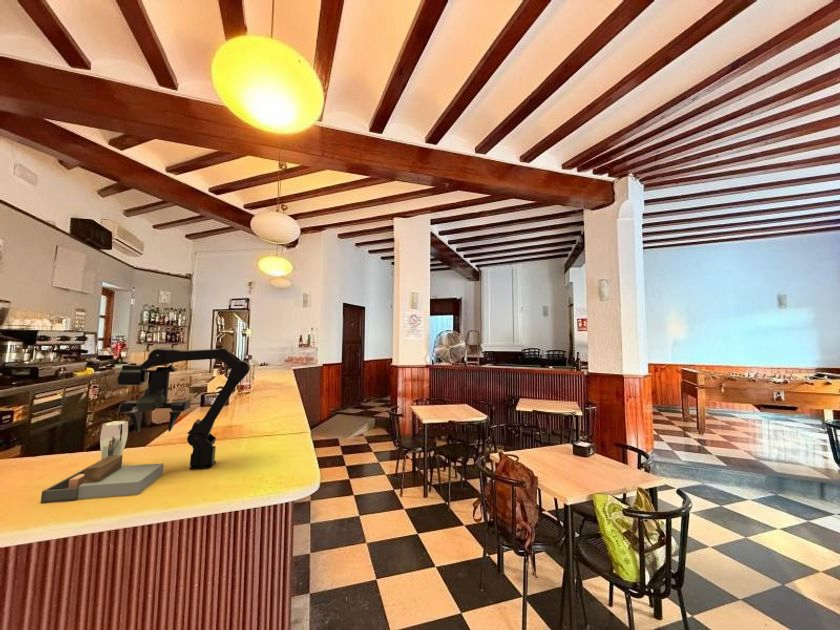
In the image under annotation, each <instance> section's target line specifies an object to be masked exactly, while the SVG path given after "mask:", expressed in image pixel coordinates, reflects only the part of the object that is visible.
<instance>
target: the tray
mask: <svg viewBox="0 0 840 630" xmlns="http://www.w3.org/2000/svg"><path fill="white" fill-rule="evenodd" d="M84 471H85V468H83V469H81V470H80V471H78V472H75V473H74V474H72V475H71V476H69V477H67V478H65V479H62V480H61V481H59V482H57V483H55V484H53V485H52V486H51V485H50V487H48V488H46V489H44V490H42V491H41V495H40V504H46V503H59V502H70V501H71V502H72V501H77V500H78V499H77V498H78V489H79V488H72V489H68V487H69V480H70V479H72V478H73V477H75V476H77V475H79V474H84Z"/></svg>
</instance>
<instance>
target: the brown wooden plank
mask: <svg viewBox="0 0 840 630" xmlns="http://www.w3.org/2000/svg"><path fill="white" fill-rule="evenodd" d="M123 457H124V455H123V454H122V455H111V456H108V457H106V458H104V459H102V458H101V459H102V460H101V459H100V460H98V461H96V462H95V463H93V464H91V465H89V466H87V467H86V468H84V469H85V472H84V481H83V483H94V482H99V481H101V480H103V479H104V478H106V477H108V476H109V475H111V474H112V473H114V472H116V471H117V470H119V469H120V468H121V467H122V462H123Z"/></svg>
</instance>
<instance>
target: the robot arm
mask: <svg viewBox="0 0 840 630" xmlns="http://www.w3.org/2000/svg"><path fill="white" fill-rule="evenodd" d="M205 360H221V362H223V363H224V364H225V365H226V366H227V367H228V368H229V369H230V371H229V374H228V375H227V376H228V377H227V380H226V382H225V384H224V386H223V387H222V389H221V390H220V392H219V394H218V395H217V397H216V398H215V400H214V401H213V403H212V404H211V406H210V408H209V409H208V410H207V413H205V415H204V417H203V418H202V419H199V418H197V419H196V420H195V421H194V422H193V425H192V427H191V429H190V430H189V431H187V433H186V434H187V438H186V441H187V443H188V445H189V446H191V447H192V453H190V459H189V461H190V462H189V470H201V469H202V470H203V469H211V468H212V467H213V466H214V465H215V464H216V462H217V460H215V458H216V445H214V444H215V443H216V440H217V438H216V437H215V435H213V434H212V433H211V432H212V430H213V428H214V425H215V423H216V419H217V418H218V416H219V415H220V413H221V411H222V410H223V409H224V407H225V405H226V404H227V402H228V400H229V399H230V397H231V395H232V394H233V392H234V391H235V389H236V388H237V386H238V384H240V383H241V381H242V380H244V379H245V377H246V376H247V375H248V374H249V373H250V371H251V365H250V362H248V361H246V360H242V359H240V358H239V357H238V356H236V355H235V354H234V353H232V352H231V351H230V350H229V349H228V348H226V347H221V348H209V349H190V350H189V349H188V350H184V349H176V348H175V349H174V348H165V347H164V348H155V349H153V350H151V351H150V353H149V354H148V355H147V359H146V360H145V361H144V362H143V363H142V364H141V365H130V364H125V365H122V366H121V370H120V372H119V374H118V376H117V383H118V385H119V386H120V387H124V386H125V387H130V386H142V385H144V383H147V387H146V389H145V390H144V394H143V395H142V396H140V397H139V399H138V400H128V401H125V402H121V404H120V405H119V406H118V413H123V415H125V416H128V417H129V418H130V420H131V422H132V425H133V427H134V430H135V433H137V434H138V433H140V431H141V425H142V418H143V412H153V411H155V410H156V409H170V410H171V411H170V412H169V421H168V427H167V428H168V430H167V431H168V432H171V431H172V430H173V427H174V426H175V424H176V422H177V420H178V418H179V417H180V415H181V414H182V412H183V413H184V412H186V410H189V409H190V408H191V405H192V404H191V400H189V399H178V400H175V401H172V402H169V400H170V398H168V395H169V391H170V390H171V387H170V386H169V384H170V375H171V374H170V373H175V372H177V371H178V369H177V368H176V367H175V366H174V365H173V364H174V363H179V362H186V361H187V362H188V361H189V362H190V361H205ZM169 364H170V365H169ZM164 365H168V366H164ZM151 368H156V369H151Z"/></svg>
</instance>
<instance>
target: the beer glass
mask: <svg viewBox="0 0 840 630" xmlns="http://www.w3.org/2000/svg"><path fill="white" fill-rule="evenodd" d="M101 426H102V427H101V431H100V436H99V438H100V440H99V445H100V446H99V447H100V453H101V455H100V456H101V459H100V460H102V459H104V458H106V457H108V456H111V455H123V454H124V450H125V446H126V443H127V441H128V434H129V421H128V420H115V421H110V422H104V423H102V425H101ZM122 466H124V465H123V461H122Z"/></svg>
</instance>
